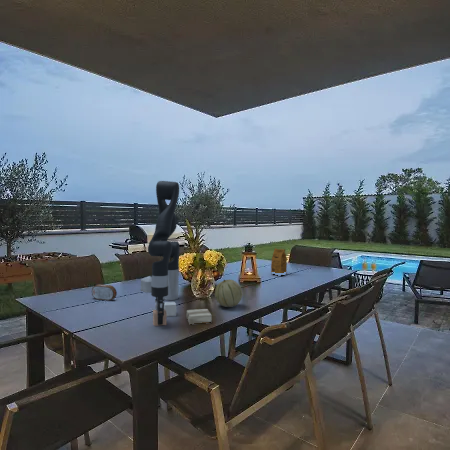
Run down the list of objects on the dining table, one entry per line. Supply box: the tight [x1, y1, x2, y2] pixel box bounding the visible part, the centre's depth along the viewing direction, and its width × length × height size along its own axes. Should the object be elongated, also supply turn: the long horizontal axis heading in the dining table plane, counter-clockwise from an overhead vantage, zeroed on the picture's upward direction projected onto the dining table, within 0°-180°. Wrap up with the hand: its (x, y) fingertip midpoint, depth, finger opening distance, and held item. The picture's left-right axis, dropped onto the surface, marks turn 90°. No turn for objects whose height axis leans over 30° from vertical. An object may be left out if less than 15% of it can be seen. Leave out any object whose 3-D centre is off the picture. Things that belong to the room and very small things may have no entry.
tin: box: [91, 283, 118, 301], centre depth 184 cm, size 15×3×8 cm, turn 74°
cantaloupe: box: [214, 279, 243, 308], centre depth 174 cm, size 15×15×15 cm
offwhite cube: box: [164, 301, 177, 317], centre depth 159 cm, size 6×6×6 cm
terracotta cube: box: [152, 309, 168, 327], centre depth 146 cm, size 6×6×6 cm
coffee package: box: [270, 247, 288, 273], centre depth 267 cm, size 10×12×22 cm
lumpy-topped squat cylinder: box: [140, 275, 152, 294], centre depth 208 cm, size 10×13×9 cm
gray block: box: [186, 308, 213, 325], centre depth 151 cm, size 10×10×4 cm
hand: (159, 322), depth 146 cm, fingers closed on terracotta cube, 5 cm apart
